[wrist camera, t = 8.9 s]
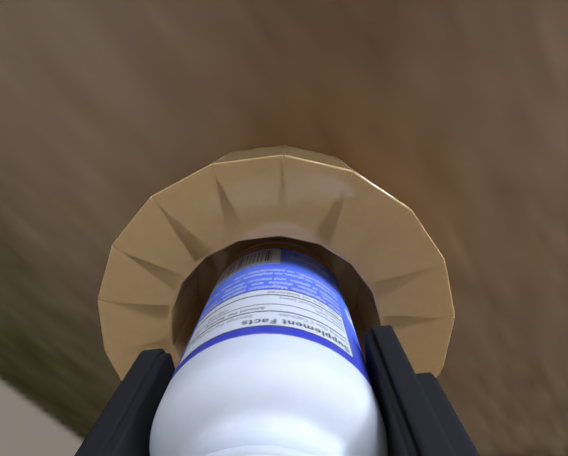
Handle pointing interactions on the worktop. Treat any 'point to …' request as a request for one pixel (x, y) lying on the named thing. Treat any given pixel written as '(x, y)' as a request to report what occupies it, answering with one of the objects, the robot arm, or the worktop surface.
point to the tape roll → (274, 228)
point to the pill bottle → (272, 367)
